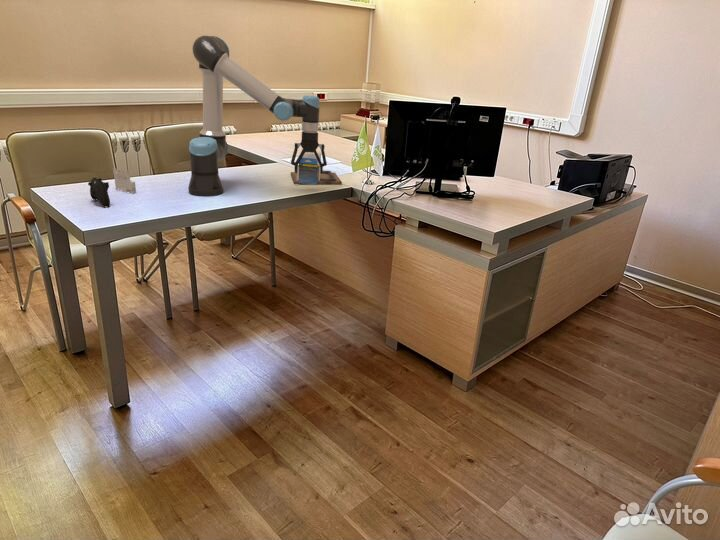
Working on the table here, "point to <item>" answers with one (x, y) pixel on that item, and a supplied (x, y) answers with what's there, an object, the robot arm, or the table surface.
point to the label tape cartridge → (308, 171)
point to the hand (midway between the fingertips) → (308, 179)
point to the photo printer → (312, 156)
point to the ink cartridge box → (124, 181)
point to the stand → (321, 179)
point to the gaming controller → (99, 191)
